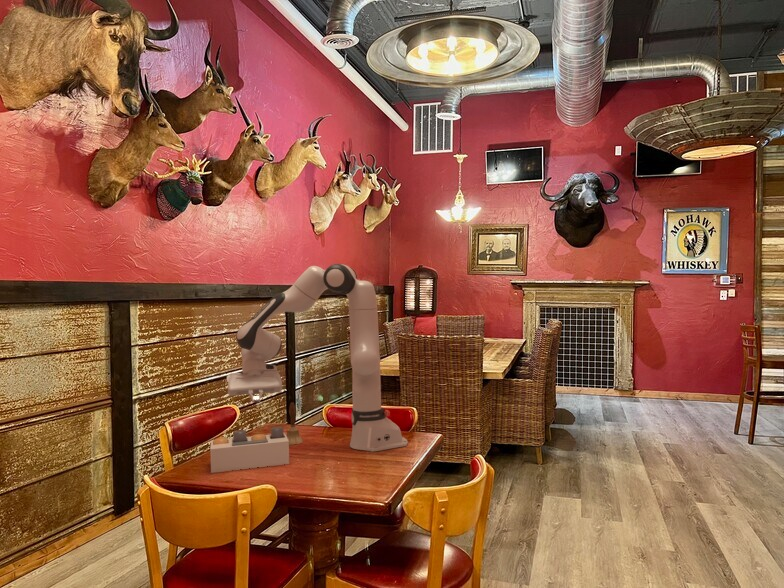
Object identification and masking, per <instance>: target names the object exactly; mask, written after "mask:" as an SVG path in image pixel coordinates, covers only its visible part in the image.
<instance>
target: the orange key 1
mask: <svg viewBox="0 0 784 588" xmlns="http://www.w3.org/2000/svg"><path fill="white" fill-rule="evenodd" d="M227 439H228V437H217V438H214V439H213V440H214V445H217V444H226V443H227Z"/></svg>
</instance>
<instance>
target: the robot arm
mask: <svg viewBox="0 0 784 588" xmlns="http://www.w3.org/2000/svg"><path fill="white" fill-rule="evenodd" d="M326 290H329V291H331V292H333V293H338V294H342V295H346V296H347V300H348V314H349V317H348V318H349V342H350V346H349V349H350V350H349V351H350V365H351V368H352V378H351V379H352V386H351V387H352V389H351V390H352V392H351V393H352V409H351V424H352V428H351V429H352V430H351V431H352V432H351V437H350V442H349V447H350V448H352V449H354V450H358V451H367V452H372V453H373V452H380V451H385V450H391V449H396V448H401V447H407V446H409V445H408V444H409V442H408V439H407V438H405V437H404V436H402V435H403V434H402V431H401V429H400V427H399V426H398V425H397V424H396V423H395V422H393V421H392V420H391V419H390V418H388V417H389V416H390V410H388V409H385V408H383V407H382V391H381V390H382V384H381V355H380V354H381V353H380V337H379V336H380V335H379V334H380V333H379V316H378V315H379V314H378V312H379V311H378V300H377V294H376V290H375V287H374V284H373V283H372V282H370V281H368V280H359V279H358V275H357V273H356V271H355V270H354V269H353V268H352V267H350V266H349V265H346V264H342V263H334V264H331V265H329V266H328V267H327V268H326V269H323V268H322V267H321V266H317V265H311V266H309V267H308V268H306V269H305V270H304V272H302V274H301V275H299V276H298V278H297V279H296V280H295V282H294V283H293V284H292V286H290V287H289V288H288V289H287V290H285V291H283V292H278V293H276V294H275V295H274V296H273V297H271V299H269V300H268V301H267V302H266V303H265V304H264V305H263V306H262V307H261V308H260V310H258V312H256V313H255V314H254V315H253V317H251V318H250V319H249V320H248V321H246V322H245V323H244V324H242V325H241V326H240V327H239V328H238V330H237V332H236V335H235V338H236V343H237V344H238V346H239V348H241V352H240V353H241V361H242V366H241V369H242V371H241V372H236V373H234V372H232V373H230V374H227V376H226V382H227V383H226V384H227V394H228V395H229V396H230V397H231V396H243V395H248V397H249V398H250V399H251V402H252V403H253V404H254V403H261V398H262V397H263V394H269V393H279V392H282V390H283V382H282V376H281V373H279V371H278V367H277V365H276V364H270V363H266V362H268V361H270V360H272V359H274V358H275V357H277V356H278V355H279V354H280V353H281V350H282V346H283V343H282V342H283V341H282V338H281V337H280V336H279V335H277V334H275V333H274V332H272V331H268V330H267V329H264V328H263V327H264V326H265V325H266V324H268V322H269V321H270V320H271V319H272V318H273V317H275V315H277V314H279V313H295V314H296V313H304V312H307V311H309V310H310V309H311V308H312V307H313V306H314V305H315V303H316V302H317V301H318V299H319V298H320V297H321V295H322V294H323V293H324V292H325V291H326ZM257 394H258V395H257ZM254 395H257V396H254Z"/></svg>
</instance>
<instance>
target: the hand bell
mask: <svg viewBox="0 0 784 588" xmlns="http://www.w3.org/2000/svg"><path fill="white" fill-rule="evenodd" d="M288 413H289V417H290V427H288V428H287V429H286V430H287V431H286V436H287V438H288V441H289V446H295V445H294V444H297V445H300V444H299V443H301V444H303V443H304V439H303V438H302V437H301V435H300V431H299V430H300V429H299V428H298V427H296V419H295V418H296V415H297V411H296V405H295V403H294V402H290V404H289V409H288ZM302 442H303V443H302Z"/></svg>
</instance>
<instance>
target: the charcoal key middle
mask: <svg viewBox="0 0 784 588" xmlns="http://www.w3.org/2000/svg"><path fill="white" fill-rule="evenodd" d="M246 437H247V430H245V429H239V430H234V431H233V434H232V438H233V439H234V442H244V441H246Z"/></svg>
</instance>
